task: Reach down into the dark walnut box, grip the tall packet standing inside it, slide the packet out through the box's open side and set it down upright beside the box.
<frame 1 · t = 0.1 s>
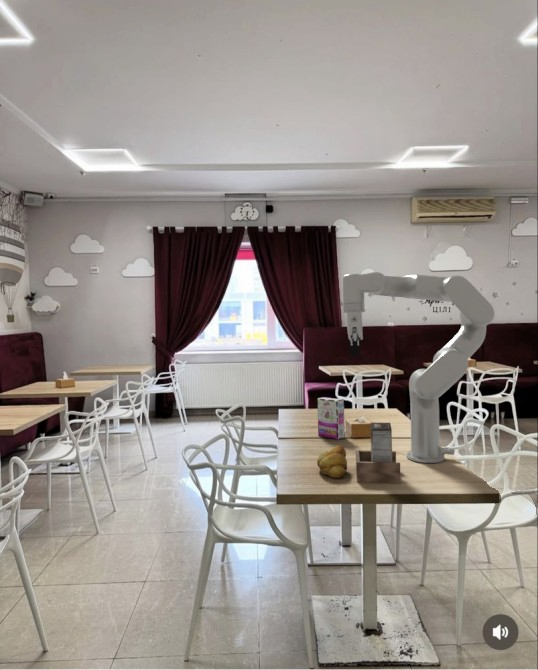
hand: (354, 355, 161), 37 cm above the table, tool pointing down, fingers open, 9 cm apart
open side box: (377, 475, 141), on the table
bread roll: (332, 474, 145), on the table
coffee box: (381, 476, 141), resting in open side box
candy bar box: (331, 437, 190), on the table
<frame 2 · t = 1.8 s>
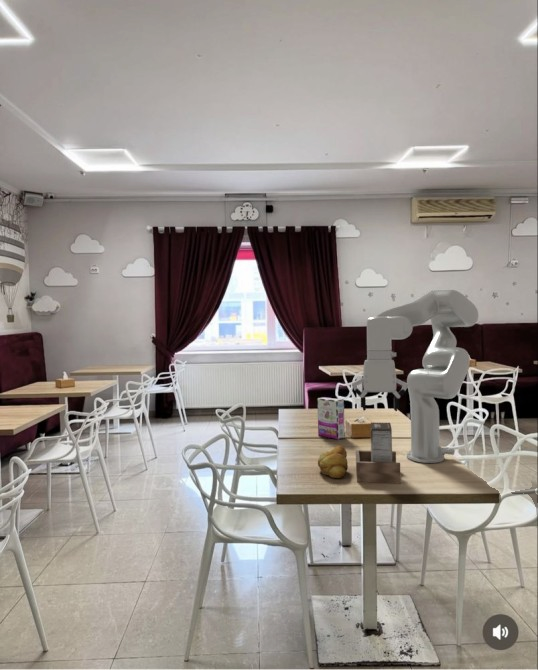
hand: (379, 410, 140), 21 cm above the table, tool pointing down, fingers open, 9 cm apart
nothing on the table moved.
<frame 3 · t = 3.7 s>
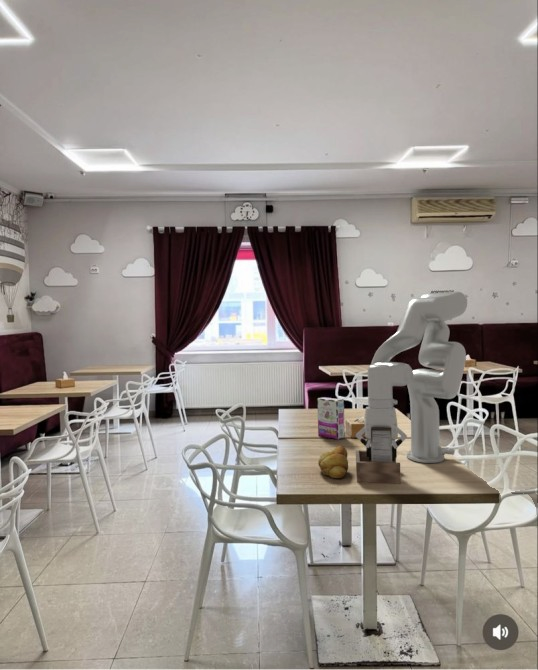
hand: (381, 459, 141), 5 cm above the table, tool pointing down, fingers closed on coffee box, 6 cm apart
coffee box: (381, 476, 141), resting in open side box, touching gripper
everything else where it was.
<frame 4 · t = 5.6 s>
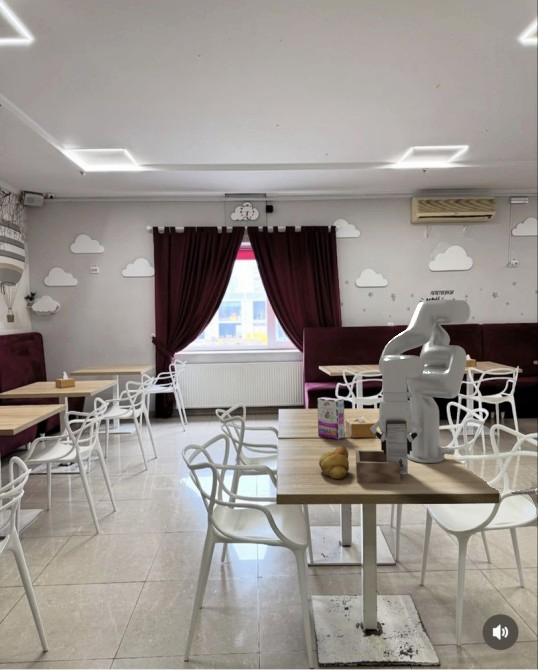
hand: (396, 452, 141), 7 cm above the table, tool pointing down, fingers closed on coffee box, 6 cm apart
coffee box: (396, 469, 141), point 2 cm above the table, touching gripper
everything else where it was.
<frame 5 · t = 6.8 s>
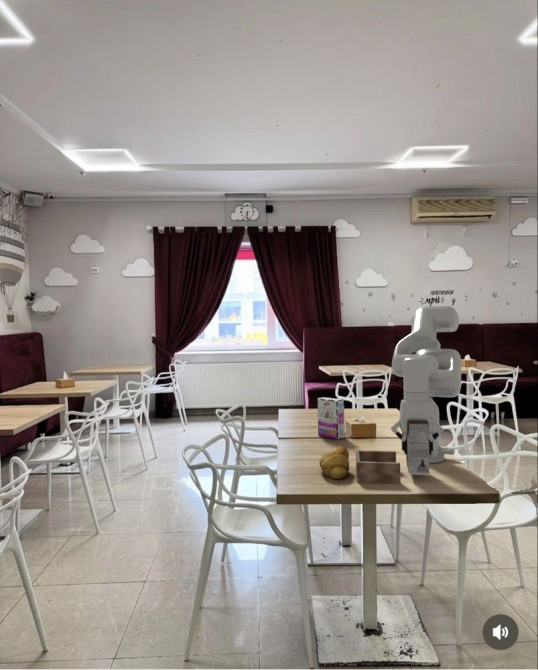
hand: (417, 452, 139), 7 cm above the table, tool pointing down, fingers closed on coffee box, 6 cm apart
coffee box: (417, 469, 139), point 2 cm above the table, touching gripper
when the fingers open (6 cm above the table, at t = 7.6 s): coffee box stays where it is, on the table.
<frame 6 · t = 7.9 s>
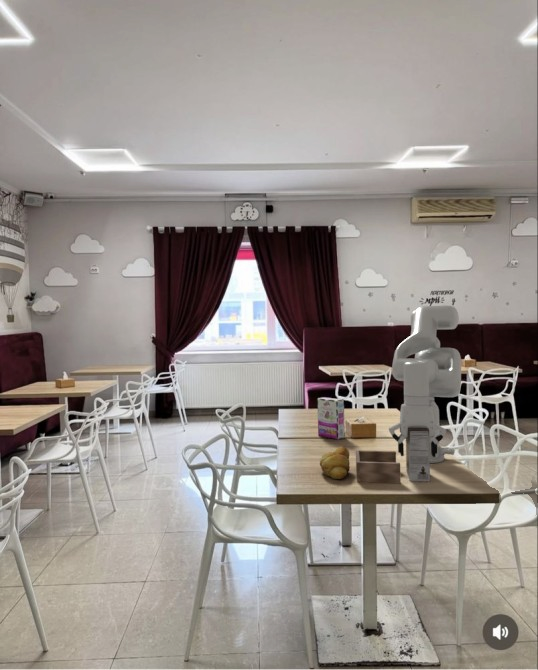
hand: (417, 455, 139), 7 cm above the table, tool pointing down, fingers open, 9 cm apart
coffee box: (417, 477, 139), on the table
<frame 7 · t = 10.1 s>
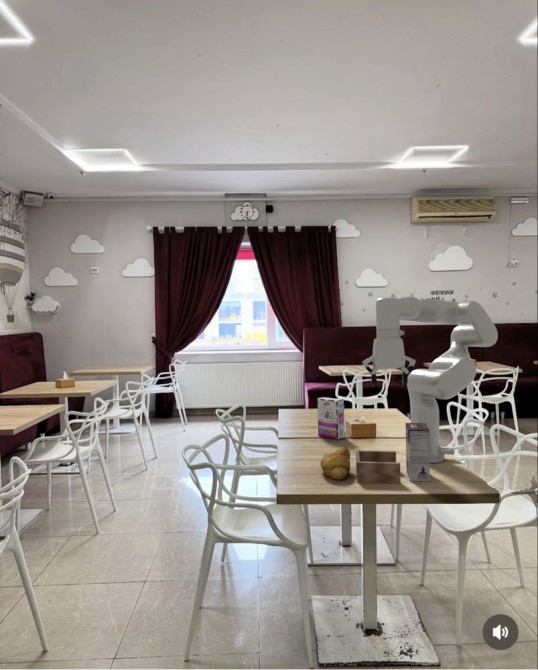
hand: (389, 385, 149), 27 cm above the table, tool pointing down, fingers open, 9 cm apart
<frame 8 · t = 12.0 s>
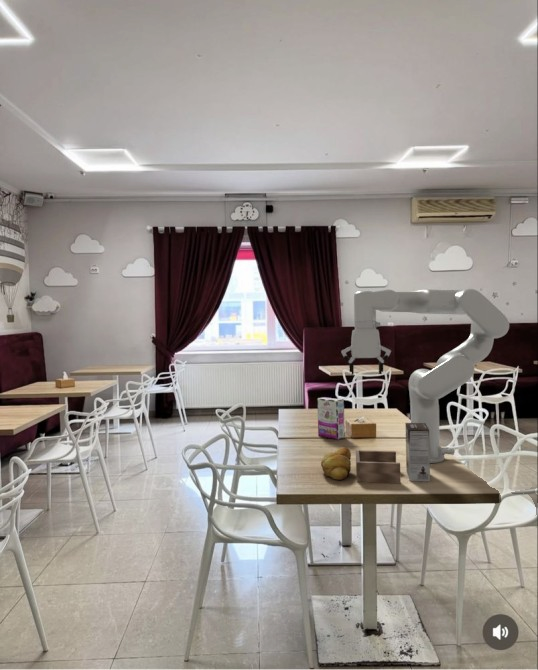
hand: (366, 374, 158), 30 cm above the table, tool pointing down, fingers open, 9 cm apart
at the end: coffee box inside the target area (1.0 cm from its centre), on the table; coffee box tilted 0°; the gripper is holding nothing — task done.
